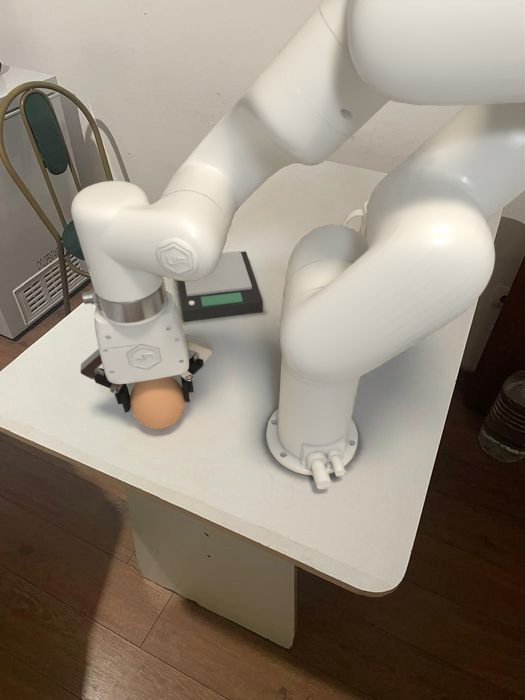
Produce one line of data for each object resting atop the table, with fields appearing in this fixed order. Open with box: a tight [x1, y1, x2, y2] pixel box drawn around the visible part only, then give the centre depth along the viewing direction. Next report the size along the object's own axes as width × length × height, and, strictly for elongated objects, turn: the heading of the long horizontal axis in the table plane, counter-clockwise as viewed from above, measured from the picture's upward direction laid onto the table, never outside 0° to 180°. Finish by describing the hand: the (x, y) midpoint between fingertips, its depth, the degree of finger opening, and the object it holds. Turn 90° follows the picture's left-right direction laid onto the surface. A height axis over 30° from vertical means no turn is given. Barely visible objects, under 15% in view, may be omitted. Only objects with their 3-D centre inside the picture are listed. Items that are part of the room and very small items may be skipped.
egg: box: [129, 376, 186, 430], centre depth 69 cm, size 7×7×8 cm
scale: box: [176, 250, 264, 323], centre depth 94 cm, size 16×14×3 cm
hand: (157, 398), depth 69 cm, fingers closed on egg, 7 cm apart
